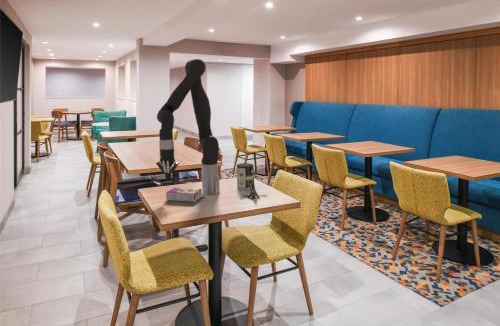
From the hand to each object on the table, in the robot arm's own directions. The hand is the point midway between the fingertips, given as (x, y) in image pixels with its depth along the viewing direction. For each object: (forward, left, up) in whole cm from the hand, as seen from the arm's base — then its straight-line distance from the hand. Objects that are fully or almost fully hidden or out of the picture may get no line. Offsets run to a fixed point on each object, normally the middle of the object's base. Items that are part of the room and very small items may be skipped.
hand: (168, 179), depth 203 cm
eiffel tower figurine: (-44, -14, -12) cm, 48 cm away
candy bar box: (0, 0, -8) cm, 8 cm away
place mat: (-10, 0, -11) cm, 15 cm away
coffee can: (-33, -35, -11) cm, 49 cm away
